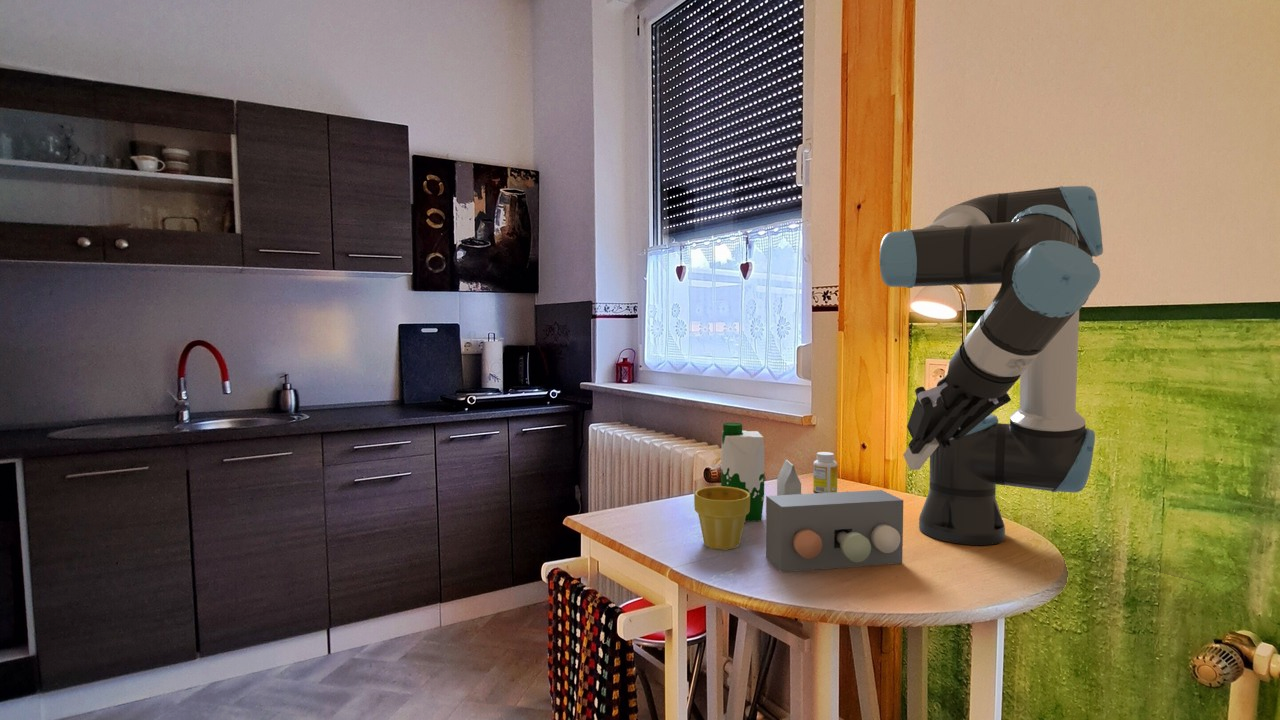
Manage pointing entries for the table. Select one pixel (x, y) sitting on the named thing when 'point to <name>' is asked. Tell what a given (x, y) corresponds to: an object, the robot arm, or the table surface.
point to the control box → (829, 527)
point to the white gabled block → (788, 480)
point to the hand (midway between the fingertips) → (911, 461)
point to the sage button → (853, 545)
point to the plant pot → (722, 515)
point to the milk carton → (744, 465)
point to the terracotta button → (807, 543)
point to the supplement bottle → (824, 473)
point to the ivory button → (885, 538)
